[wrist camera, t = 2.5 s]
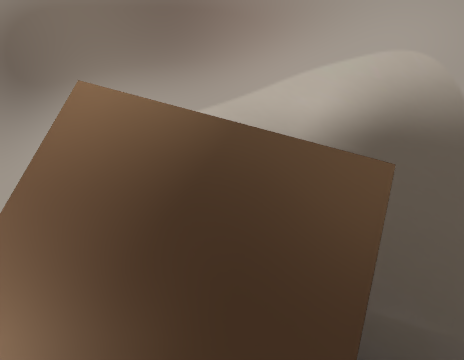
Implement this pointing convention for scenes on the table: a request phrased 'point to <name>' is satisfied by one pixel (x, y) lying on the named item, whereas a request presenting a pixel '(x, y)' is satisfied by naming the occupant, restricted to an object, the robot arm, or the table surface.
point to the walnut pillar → (186, 239)
